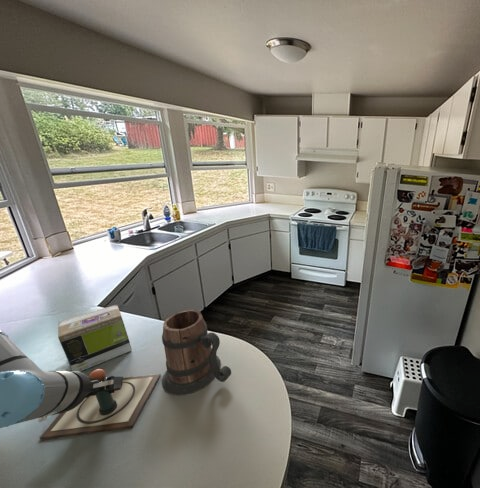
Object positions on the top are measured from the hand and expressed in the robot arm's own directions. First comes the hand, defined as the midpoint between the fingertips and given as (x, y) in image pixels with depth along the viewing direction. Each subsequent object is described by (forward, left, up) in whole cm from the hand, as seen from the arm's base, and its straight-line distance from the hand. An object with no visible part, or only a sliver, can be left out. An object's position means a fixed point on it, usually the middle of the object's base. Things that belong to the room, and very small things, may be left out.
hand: (110, 386), depth 69 cm
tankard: (+21, +6, -5) cm, 22 cm away
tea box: (-14, +19, -5) cm, 24 cm away
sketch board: (-1, -1, -5) cm, 5 cm away
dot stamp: (+1, -4, -4) cm, 5 cm away
